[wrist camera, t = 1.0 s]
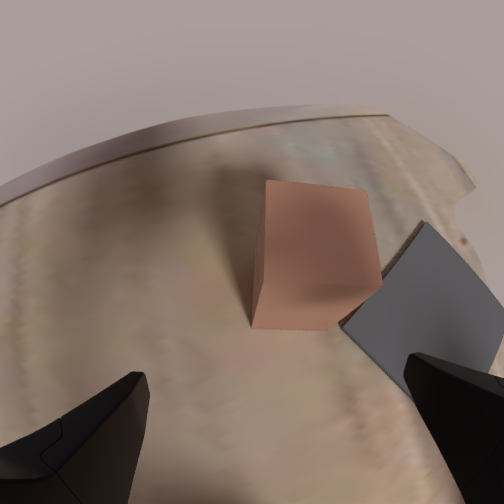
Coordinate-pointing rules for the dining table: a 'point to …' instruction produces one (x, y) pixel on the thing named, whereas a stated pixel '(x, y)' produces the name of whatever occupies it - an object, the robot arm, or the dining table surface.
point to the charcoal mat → (429, 311)
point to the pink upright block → (312, 256)
